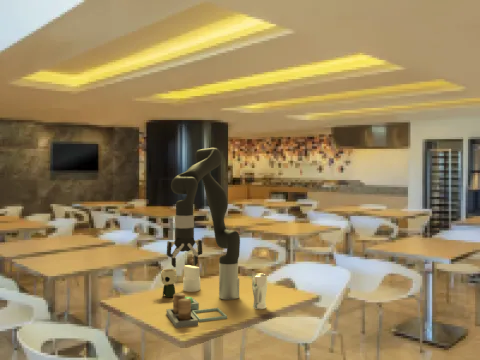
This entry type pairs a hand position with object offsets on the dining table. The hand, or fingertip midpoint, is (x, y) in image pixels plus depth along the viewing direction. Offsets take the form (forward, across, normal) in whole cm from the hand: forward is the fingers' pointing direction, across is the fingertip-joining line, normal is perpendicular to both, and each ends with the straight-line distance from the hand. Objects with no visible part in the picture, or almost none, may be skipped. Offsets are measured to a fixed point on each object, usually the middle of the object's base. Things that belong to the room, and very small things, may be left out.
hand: (184, 266), depth 185 cm
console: (+24, -6, -18) cm, 30 cm away
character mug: (+24, -3, -43) cm, 49 cm away
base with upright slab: (+24, -17, -52) cm, 59 cm away
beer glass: (+24, -38, -10) cm, 46 cm away
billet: (+23, 0, 0) cm, 23 cm away
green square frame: (+24, -12, -5) cm, 27 cm away
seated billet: (+23, 0, -9) cm, 25 cm away
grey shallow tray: (+24, 0, -4) cm, 24 cm away
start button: (+24, -6, -18) cm, 30 cm away
